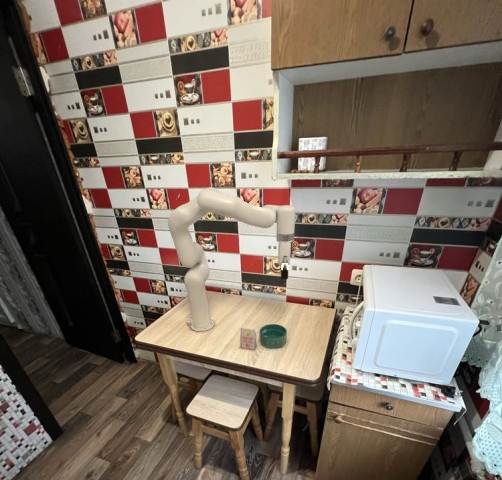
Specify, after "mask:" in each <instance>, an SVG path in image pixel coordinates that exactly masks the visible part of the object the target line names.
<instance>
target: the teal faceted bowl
mask: <svg viewBox="0 0 502 480" xmlns="http://www.w3.org/2000/svg"><path fill="white" fill-rule="evenodd" d="M258 333H259V335H258V337H259V339H258V340H259V343H260V345H261V346H262V347H265V348H267V349H280V348H283V347H284V346H285V345H286V344H287V341H288V339H287V337H288V330H287V328H286V327H285V326H284V325H280V324H277V323H269V324H265V325H263V326H261V327H260V328H259V332H258Z"/></svg>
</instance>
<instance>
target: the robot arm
mask: <svg viewBox="0 0 502 480" xmlns="http://www.w3.org/2000/svg"><path fill="white" fill-rule="evenodd" d="M208 214H215V215H217V216H223V217H227V218H231V219H234V220H236V221H238V222H241V223H243V224H246V225H248V226H253V227H255V228H256V227H257V228H261V229H269V228H271V227H273V226H274V225H275V223H276V242H277V243H278V248H277V250H278V253H277V255H278V257H277V263H278V266H280V269H279V270H280V279H281V280H289V265H290V264H291V263H290V262H291V251H292V242H295V227H296V207H295V206H294V205H290V204H284V205H275V204H265V205H263V206H257V205H253V204H250V203H248V202H246V201H244V200H243V199H242V198H241V197H239V196H237V195H233V194H229V193H225V192H222V191H219V190H218V189H217V188H215V187H212V186H211V187H206V188H203V189H202V190H200V191H199V193H198V194H197V196H195V197H194V198H192V199H191V200H189V201H188V202H186V203H184V204H181V205H179V206H177V207H176V208H175V209H174V210H173V211H172V212H171V213H170V215H169V217H168V219H167V221H168V222H167V223H168V224H167V226H168V230H169V233H170V236H171V238H172V241H173V245H174V247H175V251H176V254H177V257H178V260H179V262H180V264H181V265H182V266H183V267H184V268H189V269H188V270H187V272H186V273H185V275H184V278H183V279H184V280H183V281H184V286H185V289H186V293H187V297H188V302H189V307H190V313H191V317H185V318H184V321H185V323H186V324H190V329H191V330H193V331H196V332H206V331H209V330H211V329H213V327H214V326H215V322H214V320H213V319H212V318H211V313H210V305H209V297H208V292H207V287H206V282H207V280H208V279H209V276H210V267H209V264H208V261H207V257H206V254H205V253H206V252H205V250H204V248H203V247H202V245H201V244H200V243H198V242H196V241H194V240H193V237H192V234H191V232H190V230H189V227H190V226H193V225H194V224H195V223H197V222H198V221H199V220H201V219H203V218H204V217H205V216H207V215H208Z"/></svg>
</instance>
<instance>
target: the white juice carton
mask: <svg viewBox="0 0 502 480" xmlns="http://www.w3.org/2000/svg"><path fill="white" fill-rule="evenodd" d="M239 342H240V343H239V344H240V349H244V350H251V351H255V350H256V348H257V346H258V345H257V344H258V343H257V333H256V330H255V329H250V328H244V327H243V328H240V335H239Z"/></svg>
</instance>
